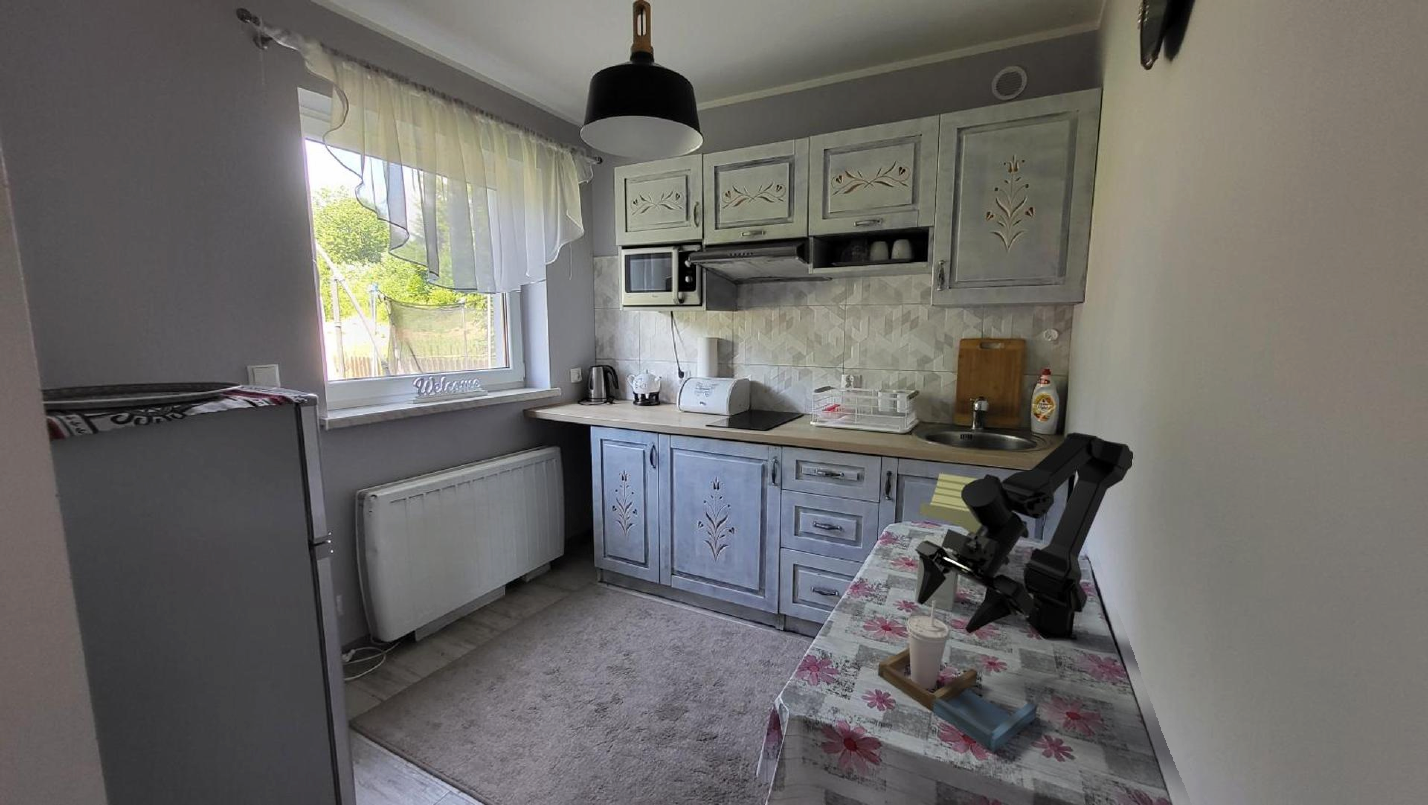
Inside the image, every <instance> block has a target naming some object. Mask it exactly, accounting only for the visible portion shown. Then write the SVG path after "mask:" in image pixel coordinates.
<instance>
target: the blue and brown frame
mask: <svg viewBox="0 0 1428 805" xmlns="http://www.w3.org/2000/svg"><path fill="white" fill-rule="evenodd" d="M908 665H910V647H908V648H906V649H904V650H902V651H900V652H899V653H896V654H895V655H893V656H891V657H890V658H887V659H885V660H884V661H881V662H880V663H878V671H877V675H878V677H879V678H882V679H883V680H884V681H886V682H887V683H888V684H890V685H892V686H894V687H895V688H896V689H898V690H899V691H901V692H902V693H904V694H905V695H906V696H908V697H910V698H911V699H912V700H914V701H916V703H918V704H920V705H921V706H923V707H925V708H926V709H927V710H929V711H931V713H933V714H935V715H936V716H938V718H941V719H943V720H944V721H945V722H947V723H948V724H950V725H951V726H953V727H954V728H956V729H957V730H958V731H960V732H961V733H963V734H965V735H966V736H968V737H969V738H971V739H972V740H973V741H975V742H976V743H977V744H979V745H980V746H982V747H984V748H985V749H987V750H988V751H990V752H991V753H993V754H995V753H996V752H997V751H999V749H1000V748H1003V746H1004V745H1005V744H1007V743H1008V742H1010V740H1012V739H1013V737H1015V736H1016V735H1017V734H1018V733H1019V732H1021V731H1022V730H1023V729H1024V728H1025V727H1027V726H1028V725H1029V724H1030V723H1032V721H1034V720H1035V719H1036V718H1037V710H1038V705H1037V704H1036V703H1034V702H1032V701H1028V702H1027V703H1026V704H1025V705H1024V706H1023V707H1020V709H1018V711H1016V712H1014V713H1013V714H1012V715H1011V714H1010V713H1008V712H1006V711H1004V710H1003V709H1002V708H1000V707H997V705H994V704H992V702H990V701H988V700H986V699H984V698H982V697H981V696H979V695H978V694H976V693H974V692H972V691H971V690H970V688H971V687H973V686H975V685H976V684H977V683H978V682H977V681H978V673H979V672H978V671H977V670H975V669H973V668H970V669H969V670H966V671H965V672H964V673H962V674H961V675H959V676H958V677H956V678H954V679H953V680H952V681H949V682H948V683H947V684H945V685H943V686H942V687H940V688H939V689H937V690H935V691H934V692H933V693H932V692H930V691H928V689H924V688H922V687H921V686H919V685H918V684H916V683H915V682H913V681H912V680H911V678H909V677H907V676H906V675H904V674H902V673H900V672H899V670H901V669H902V668H904V667H906V666H908Z"/></svg>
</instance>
